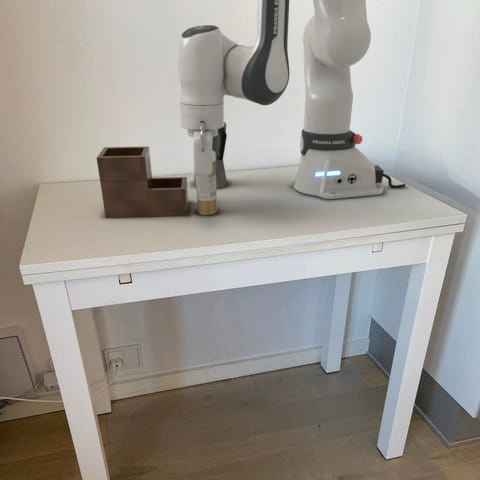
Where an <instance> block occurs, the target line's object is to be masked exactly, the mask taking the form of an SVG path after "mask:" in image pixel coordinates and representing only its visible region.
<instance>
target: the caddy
mask: <svg viewBox="0 0 480 480" xmlns="http://www.w3.org/2000/svg"><path fill="white" fill-rule="evenodd" d="M151 162H152V161H151V152H150V146H148V145H147V146H146V145H145V146H104V147H103V148H102V150H100V152H99V154H98V155H97V156H96V164H97V171H98V177H99V183H100V189H101V190H100V191H101V196H102V202H103V209H104V214H105V215H104V216H105V218H106V219H107V218H108V219H110V218H111V219H112V218H140V217H141V218H143V217H146V218H147V217H179V216H184V217H185V216H188V211H189V210H188V209H189V192H188V191H189V190H188V176H165V177H164V176H162V177H160V176H159V177H158V176H157V177H153V174H152V173H153V171H152V163H151Z"/></svg>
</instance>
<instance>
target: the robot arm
mask: <svg viewBox="0 0 480 480" xmlns="http://www.w3.org/2000/svg"><path fill="white" fill-rule="evenodd" d="M312 1H313V10H314V14H313V15H312V16H311V17H310V19H309V20H308V21H307V23H306V25H305V27H304V28H303V32H302V43H303V44H302V45H303V73H304V75H303V76H304V85H305V86H304V87H305V88H304V90H305V91H304V92H305V93H304V94H305V95H304V97H305V98H304V116H303V128H302V130H301V135H300V142H299V143H300V144H299V145H300V146H299V150H300V151H299V152H300V160H299V165H298V170H297V174H296V178H295V182H294V184H293V189H294V190H296V191H297V192H299V193H302V194H305V195H309V196H315V197H318V198H322V199H324V200H337V199H346V198H357V197H358V198H359V197H368V196H379V195H382V194H383V193H384V190H385V189H384V185H383V184H382V183H383V180H384V179H383V178H385V179H386V180H387V182H388V186H389V187H390V188H391V189H401V188H406V186H407V185H406V184H405V183H402V184H396V185H395V184H393V183H392V181H393V179H392V177H391V176H390V175H388V174H386V173H384V169H382V168H381V167H380V165H376V164H375V165H374V162H372V160H371V159H370V158H368V156H366V155H365V153H363V152H362V151H361V150H360V149H359V148H357V146H356V145H360V144H362V143H363V140H364V139H363V136H362V135H360V133H356V132H354V131H352V130H351V121H352V110H353V102H354V91H353V88H352V87H353V86H352V79H351V66H353V65H356V64H357V63H358V62H360V61H361V60H362V59H363V58H364V57H365V55H366V54H367V52H368V51H369V49H370V44H371V40H372V33H371V28H370V25H369V23H368V15H367V1H366V0H312ZM289 17H290V0H257V18H256V41H255V44H254V45H253V46H252V45H251V46H249V45H242V44H238V43H237V42H235V41H234V40H232V39H230V38H228V37H227V36H225V34H224V33H222V31H221V29H220V27H219V26H216V25H211V24H205V25H204V24H203V25H197V26H193V27H189V28H187V29H185V31H183V32H182V33H181V35H180V37H179V43H178V55H177V56H178V58H177V60H178V61H177V62H178V80H179V83H180V89H181V91H180V98H179V107H180V108H179V109H180V126H181V128H183V129H186V130H187V136H189V137H192V147H193V149H192V151H193V152H192V153H193V155H192V156H193V173H194V175H195V174H196V175H198V176H199V184H200V192H208V180H209V175H211V174H212V143H213V137H215V136H217V135H218V129H220V128H222V127H224V122H225V103H224V102H225V100H224V97H225V96H227V97H233V98H236V99H241V100H247V101H250V102H251V103H255V104H257V105H261V106H270V105H272V104H274V103H275V102H277V101H278V100H279V99H280V98H281V97H282V95H283V94H284V93H285V91H286V90H287V87H288V85H289V81H290V62H289V61H290V60H289V51H288V49H289V48H288V45H289V42H288V41H289V22H290V21H289V19H290V18H289ZM201 150H202V151H201Z"/></svg>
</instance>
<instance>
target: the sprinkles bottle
mask: <svg viewBox="0 0 480 480" xmlns="http://www.w3.org/2000/svg"><path fill="white" fill-rule="evenodd" d="M201 151H202V150H201ZM215 161H216V153H215V151H213V150H212V174H211V175H209V180H208V192H200V184H199V176H198V175H196V186H195V187H196V188H195V189H196V201H197V213H198V214H200V215H201V216H202V215H203V216H210V215H214V214H216V213H218V207H217V199H218V198H217V197H218V195H217V192H218V191H217V188H216V172H215Z"/></svg>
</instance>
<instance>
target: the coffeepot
mask: <svg viewBox="0 0 480 480" xmlns="http://www.w3.org/2000/svg"><path fill="white" fill-rule="evenodd" d="M227 126H228V125H227V123H226V121H224V127H222V128H220V129H218V135H217V136H215V137H213V143H212V150H213V151H215V153H216V161H215V172H216V189H221V188H223V187H226V186H227V185H228V180H227V176H226V174H227V173H226V168H225V162H224V155H225V151H226V150H225V149H226V143H227V137H228V135H227ZM193 185H194V187H196V174H195V173H194V177H193Z"/></svg>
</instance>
